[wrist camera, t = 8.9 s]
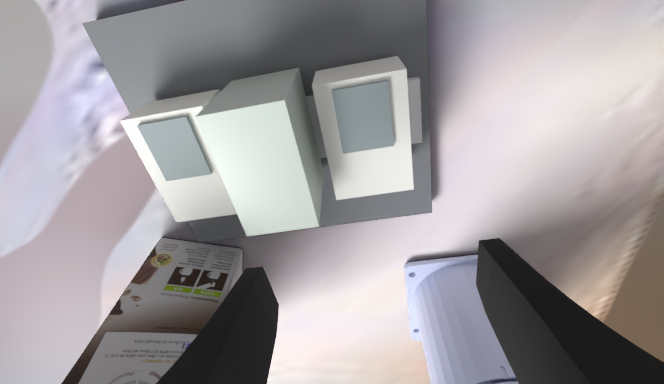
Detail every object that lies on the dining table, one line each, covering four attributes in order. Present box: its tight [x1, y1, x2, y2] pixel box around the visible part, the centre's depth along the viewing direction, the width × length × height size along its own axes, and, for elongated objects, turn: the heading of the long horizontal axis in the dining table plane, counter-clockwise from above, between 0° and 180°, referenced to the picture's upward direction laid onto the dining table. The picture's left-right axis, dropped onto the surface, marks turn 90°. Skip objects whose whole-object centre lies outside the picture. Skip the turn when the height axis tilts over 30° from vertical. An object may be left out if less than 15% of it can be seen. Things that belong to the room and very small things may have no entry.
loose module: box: [195, 68, 324, 237], centre depth 16 cm, size 6×4×5 cm, turn 11°
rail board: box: [82, 0, 432, 243], centre depth 18 cm, size 14×16×4 cm
